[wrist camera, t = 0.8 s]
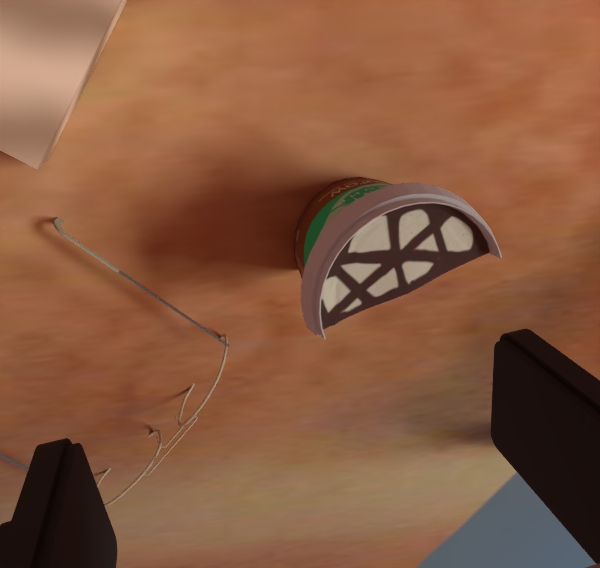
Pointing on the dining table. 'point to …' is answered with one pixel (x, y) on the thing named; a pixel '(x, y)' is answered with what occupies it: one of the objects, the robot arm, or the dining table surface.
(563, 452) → the robot arm
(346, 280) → the food container
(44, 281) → the dining table surface
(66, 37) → the control panel
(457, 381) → the dining table surface
